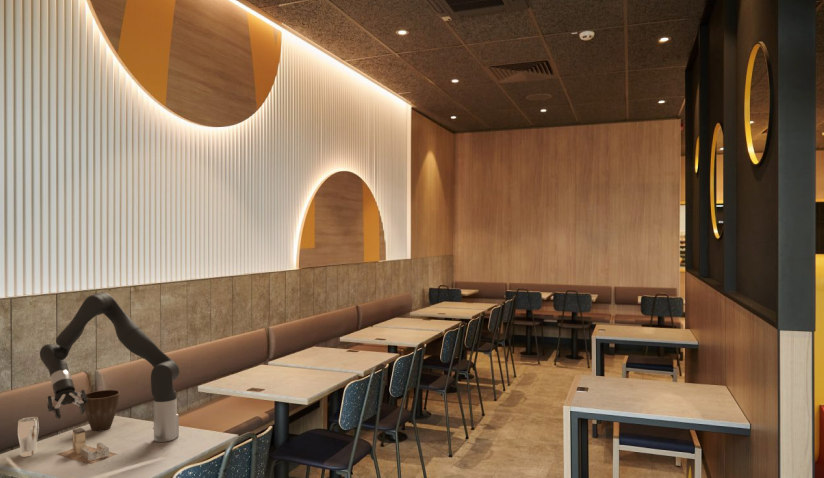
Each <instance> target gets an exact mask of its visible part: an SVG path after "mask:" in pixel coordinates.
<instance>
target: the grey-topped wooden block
mask: <svg viewBox="0 0 824 478" xmlns="http://www.w3.org/2000/svg"><path fill="white" fill-rule="evenodd" d="M85 446H86V430H85V429H84V428H82V427H77V428H73V429H72V449H73V452H74V453H75V454H77V455H78V454H81V450H80V448H82V447H85Z"/></svg>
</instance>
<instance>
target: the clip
mask: <svg viewBox="0 0 824 478" xmlns="http://www.w3.org/2000/svg"><path fill="white" fill-rule="evenodd" d="M96 449H97V451H95V452H91V451H90V450H88V449H87V448H85V447H82V448H80V450H81V457H82V458H84V459H85V460H86V461H88V462H91V461H94V460H98V459H101V458H105V457H108V458H110V457H109V452H110V449H109V447H108V446H107V445H105V444H104V443H102V442H97V443H96Z"/></svg>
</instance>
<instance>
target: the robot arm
mask: <svg viewBox="0 0 824 478" xmlns="http://www.w3.org/2000/svg"><path fill="white" fill-rule="evenodd" d="M100 315H104V316H106V317H107V318H108V320H110V323H112V324H113V327H114V330H115V334H116V337H117V338H118V340H119V342H120V343H121V344H122V345H123V346H124V347H125V348H126V349H127V350H128V351H129V352H131V354H132V353H133V354H134V355H135V356H137V357H140V358H142V359H144V360H145V361H147V362H148V363H149V364H150V365H151V366H152V367H153V368H152V370H151V374H150V387H151V390H150V391H151V395H152V397H153V441H154V442H157V443H165V442H171V441H173V440H175V439H177V438H178V437H179V436H180V430H179V428H180V418H179V416H180V415H179V413H178V409H177V406H178V405H177V403H178V402H177V400H178V399H177V396H178V394H177V391H176V390H174V388H173V387H174V385H173V381H174V380H176V379H177V378H178V377H179V375H180V367H179V366H178V363H176V361H174V360H173V359H172V358H171V357H169V356H168V355H167V354H166V353H164V352H163V351H162V350H161V349H160V348H159V347H158V346H157V345H156V343H154V341H153V340H151V338H150V337H148V335H147V334H146V333H145V332H144V331H143V330H142V329H141V327H139V326H138V325H137V324H136V323H135V322H134V321H133V319H132V318H131V317H130V316H128V314H127V313H126V312H125V311H124V310H123V309H122V307H121V306H120V305H119V303H118V301H116V300H115V298H114V297H113V296H112V295H111V294H110V293H108V292H98V293H94V294H91V295H89V296H87V297H86V298H85V299H84V301H83V302H82V304H80V307H79V309H78V310H77V312H76V314H75V315H74V317H73V318H72V319H71V321H70V322H69V323H68V324H67V326H66V327H65V328H64V329H63V330H62V331H61V332H60V333H59V335H57V337H56V339H55V342H56V344H51V343H49V344H44V345H43V346H42V347H41V348H40V351H39V357H40V359H41V361H42V363H43V364H44V366H45V367H46V369H47V370H48V373H49V376H50V382H51V388H52V391H53V395H54V396H51V395H48V396H47V398H46V406H47V412H53V413H54V416H55V417H54V418H56V419H58V420H60V419H61V416H62V415H61V412H60V407H61V406H65V405H71V404H74V405H76V406H78V409H79V412H80V414H81V415H83V414H84V413H85V407H84V404H87V401H88V399H87V396H86V394H87V393H86V391H85V390H84V389H82V390H81V391H76V387H75V384H74V381H73V377H72V374H71V372H70V369H69V367H68V363H67V362H66V361H65V359H66V358H68V356H69V353H70V352H71V351H70V350H71V349H72V347H73V345H74V344H75V343H76V342H77V341H78V339H79V338H81V336H82V335H83V332H84V330H85V327H86V326H87V324H88V323H89V322H91V320H92V319H94V318H95V317H96V316H100ZM54 401H55V402H57V403H56V404H55V406H53V402H54Z"/></svg>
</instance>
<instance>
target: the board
mask: <svg viewBox="0 0 824 478" xmlns="http://www.w3.org/2000/svg"><path fill="white" fill-rule="evenodd" d="M85 448H87V449H88V450H90V451H91V452H95V451H97V447H92V446H88V445H85ZM56 455H57V456H60V457H64V458H68V459H71V460H74V461H78V462H82V463H86V464H88V465H92V464H95V463H98V462H100V461H103V460H106V459H108V458H111V457H113V456H117V453H116V452H115V453H114V452H111V451H109V457H105V458H101V459H98V460H94V461H91V462H88V461H86V460H85V459H84V458H82V457H81V454H78V455H77V454H75V453H74V452H73V448H71V449H67V450H66V451H63V452H62V451H61V452H59V453H56Z"/></svg>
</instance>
